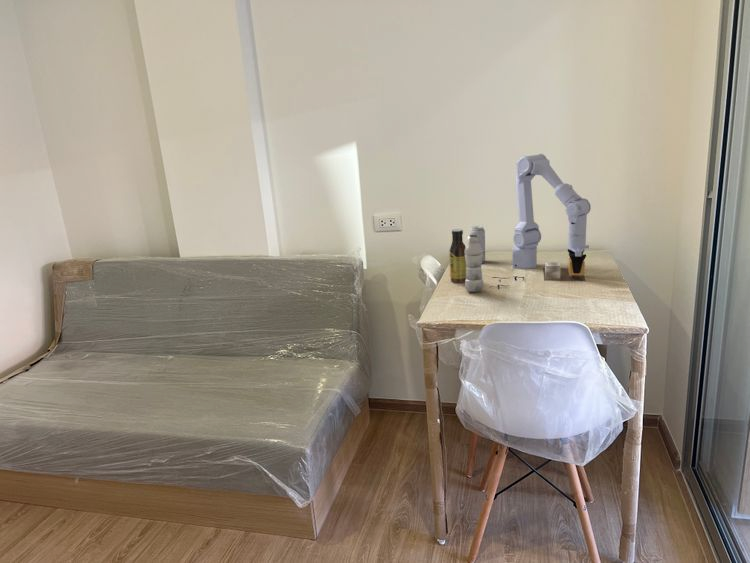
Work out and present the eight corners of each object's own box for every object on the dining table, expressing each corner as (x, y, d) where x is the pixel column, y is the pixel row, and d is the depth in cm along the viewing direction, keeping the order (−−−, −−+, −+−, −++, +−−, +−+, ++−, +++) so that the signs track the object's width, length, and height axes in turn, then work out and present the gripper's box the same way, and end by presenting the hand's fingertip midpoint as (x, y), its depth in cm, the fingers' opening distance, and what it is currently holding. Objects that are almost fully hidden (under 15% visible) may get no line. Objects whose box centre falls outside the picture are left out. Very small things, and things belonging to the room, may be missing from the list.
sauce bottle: (450, 278, 208) (449, 227, 202) (467, 278, 207) (466, 227, 201) (449, 283, 202) (447, 231, 196) (466, 283, 201) (465, 231, 195)
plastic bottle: (463, 293, 190) (461, 238, 184) (467, 287, 196) (465, 233, 190) (481, 294, 187) (480, 238, 182) (485, 288, 193) (484, 234, 188)
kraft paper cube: (569, 275, 192) (569, 261, 191) (568, 271, 197) (568, 258, 196) (584, 275, 191) (584, 261, 190) (582, 271, 196) (583, 258, 194)
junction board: (544, 283, 194) (544, 267, 192) (543, 270, 209) (543, 255, 207) (585, 283, 190) (586, 267, 189) (581, 270, 205) (582, 255, 203)
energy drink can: (487, 262, 225) (486, 227, 221) (472, 264, 225) (472, 229, 220) (483, 259, 231) (482, 224, 226) (469, 260, 231) (468, 226, 226)
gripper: (591, 238, 182) (590, 276, 186) (587, 229, 195) (585, 265, 199) (569, 238, 184) (568, 276, 188) (566, 229, 197) (565, 265, 201)
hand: (576, 270), depth 194 cm, fingers closed on kraft paper cube, 5 cm apart
